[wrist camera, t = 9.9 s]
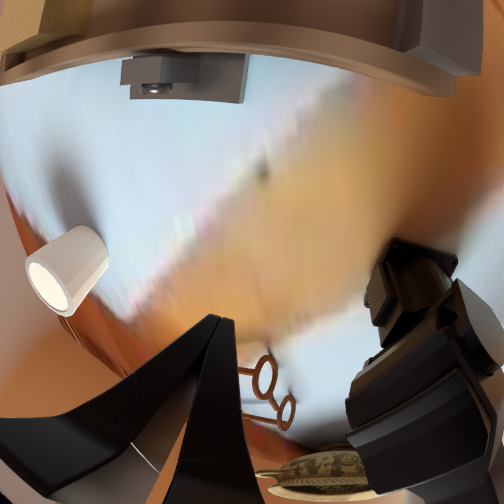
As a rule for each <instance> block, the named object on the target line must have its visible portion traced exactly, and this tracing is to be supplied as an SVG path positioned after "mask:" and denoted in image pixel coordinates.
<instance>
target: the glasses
mask: <svg viewBox="0 0 504 504" xmlns="http://www.w3.org/2000/svg"><path fill="white" fill-rule="evenodd" d="M266 361H269V362H270V364H271V366H272V371H273V375H272V381H271V384H270V387H269V389H268V391H267V392H266V393H265V394H262V393H261V392H260V389H259V385H258V380H259V374H260V371H261V368H262V366H263V365H264V363H265V362H266ZM238 374H244V375H250V376H253V378H252V387H253V391H254V394H255V396H256V397H257V398H258V399H261V400H267V399H269V403H270V404H271V406H272V407H273V409H274V410H275V411H278V413H277V420H274V419H269V418H264V417H259V416H254V415H249V414H242V417H243V418H246V419H251V420H255V421H260V422H265V423H270V424H275V425H278V428H279V429H280V430H281V431H286V430H288V429H289V427H290V425H291V424H292V421H293V418H294V415H295V409H296V403H295V400H294V398H293V396H290V395H287V396H286V397H285V398H284V399H283V401H282V403H281V405H280V407H279V406H278V404H277V402H276V401H275V399H274V397H273V391H274V388H275V385H276V381H277V377H278V368H277V364H276V362H275V360H274V358H273V357H272V356H271V355H264V356H262V357H261V358H260V360H259V361H258V363H257V365H256V367H255V369H249V368H242V367H238ZM288 400H290V402H291V415H290V418H289V420H288V422H285V421H282V412H283V409H284V407H285V405H286V403H287V402H288Z"/></svg>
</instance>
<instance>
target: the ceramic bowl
mask: <svg viewBox="0 0 504 504" xmlns="http://www.w3.org/2000/svg"><path fill="white" fill-rule="evenodd" d="M255 476H258V477H264V478H275V479H277V481H278V484H276V485H273V486H272V487H270V488H269V489H268V491H270V492H271V493H273V494H275V495H278V496H282V497H286V498H291V499H298V500H306V501H307V500H308V501H355V500H365V499H370V498H375V497H379V495H377V494H376V493H375V492H374V490H373V489H372V488H371V487H370V486H369V484H368V481H367V477H366V473H365V469H364V466H363V463H362V460H361V458H360V456H359V455H358V453H357V451H356V449H355V448H354V447H353V446H352V445H351V444H350V443H341V444H331V445H327V446H324V447H322V448H320V453H314V454H310V455H306V456H302V457H299V458H297V459H294V460H292V461H290V462H288V463H286V464H285V465H284V466H282V467H281V469H264V470H259V471H257V472H256V473H255ZM381 496H383V495H381Z"/></svg>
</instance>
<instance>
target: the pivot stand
mask: <svg viewBox="0 0 504 504" xmlns="http://www.w3.org/2000/svg"><path fill="white" fill-rule="evenodd" d="M249 56H250V54H245V53H229V52H176V53H160V54H148V55H139V56H133V59H128V60H122V69H121V81H120V85H130V84H131V86H130V99H183V100H202V101H216V102H227V103H237V104H241V103H243V99H244V91H245V84H246V77H247V70H248V63H249Z"/></svg>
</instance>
